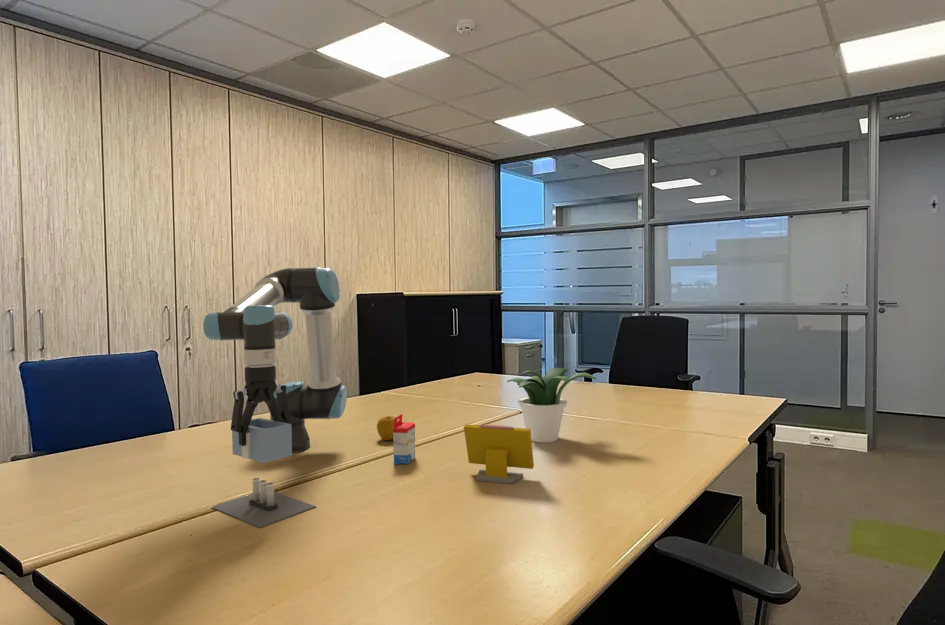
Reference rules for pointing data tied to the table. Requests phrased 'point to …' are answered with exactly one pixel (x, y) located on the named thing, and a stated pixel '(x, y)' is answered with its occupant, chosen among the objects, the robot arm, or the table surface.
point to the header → (263, 506)
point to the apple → (386, 427)
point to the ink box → (403, 441)
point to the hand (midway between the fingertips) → (261, 453)
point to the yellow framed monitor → (499, 451)
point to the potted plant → (544, 403)
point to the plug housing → (266, 440)
